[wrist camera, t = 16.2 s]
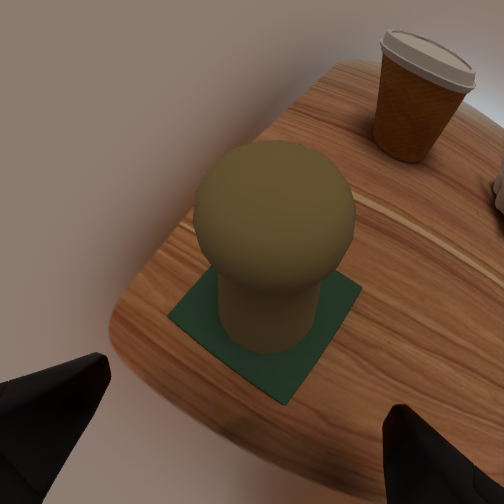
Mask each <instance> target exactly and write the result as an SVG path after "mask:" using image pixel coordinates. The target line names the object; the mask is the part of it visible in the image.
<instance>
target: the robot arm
mask: <svg viewBox="0 0 504 504" xmlns="http://www.w3.org/2000/svg"><path fill="white" fill-rule="evenodd" d="M110 380H111V371H110V366H109V362H108V358H107V356H105V355H103V354H100V353H97V352H95V353H92V354H89V355H86V356H83V357H80V358H77V359H74V360H71V361H68V362H66V363H63V364H60V365H57V366H53V367H50V368H47V369H44V370H41V371H38V372H35V373H32V374H29V375H26V376H22V377H19V378H16V379H13V380H9V382H8V381H6V382H3V383H0V504H42V502H43V499H44V498H45V497H46V495H47V493H48V491H49V489H50V488H51V486H52V484H53V482H54V481H55V479H56V477H57V475H58V474H59V472H60V470H61V468H62V467H63V465H64V463H65V462H66V460H67V458H68V456H69V455H70V453H71V451H72V450H73V448H74V446H75V445H76V443H77V442H78V440H79V438H80V437H81V435H82V433H83V432H84V430H85V428H86V427H87V425H88V424H89V422H90V420H91V419H92V417H93V415H94V414H95V412H96V409H97V408H98V405H99V403H100V401H101V399H102V397H103V395H104V393H105V391H106V389H107V387H108V385H109V383H110ZM382 432H383V468H384V478H385V487H386V497H387V504H504V488H503V487H502V486H500V485H499V484H498V483H496V482H495V481H493V480H492V479H491V478H490V477H488V476H487V475H486V474H485V473H483V472H482V471H481V470H480V469H479V468H478V467H477V466H474V464H473V463H472V462H471V461H470V460H468V459H467V458H466V457H465V456H464V455H463V454H462V453H461V452H459V451H458V450H457V449H456V448H455V447H454V446H453V445H451V444H450V443H449V442H448V441H447V440H446V439H445V438H444V437H442V436H441V435H440V434H439V433H438V432H437V431H436V430H435V429H433V428H432V427H431V426H430V425H429V424H428V423H427V422H426V421H425V420H423V419H422V418H421V417H420V416H419V415H418V414H417V413H416V412H414V411H413V410H412V409H411V408H410V407H409V406H408V405H406V404H396V405H394V406H393V407H392V408H391V410H390V412H389V413H388V415H387V417H386V418H385V420H384V422H383V426H382Z"/></svg>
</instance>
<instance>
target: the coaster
mask: <svg viewBox="0 0 504 504" xmlns="http://www.w3.org/2000/svg"><path fill="white" fill-rule="evenodd" d="M361 290H362V287H361V286H360V285H358V284H357V283H355V282H354V281H352V280H351V279H349V278H347V277H346V276H344V275H343V274H341V273H340V272H338V271H336V270H334V271H333V272H331V273H330V274H329V275H328V276H326V277H325V278H324V279H323V280H322V281H321V287H320V293H319V298H318V304H317V309H316V314H315V318H314V322H313V325H312V327H311V329H310V330H309V332H308V333H307V335H306V337H305V338H304V339H303V340H301V341H300V342H299V343H298V344H296V345H295V346H294V347H293V348H290V349H288V350H285V351H282V352H279V353H272V354H260V353H256V352H253V351H249V350H246V349H244V348H243V347H241V346H240V345H238V344H237V343H235V342H234V341H232V340H231V338H230V337H229V336H228V334H227V333H226V332H225V330H224V329H223V327H222V324H221V321H220V318H219V314H218V272H217V271H216V270H215V269H214V267H213V266H212V265H211V267H210V268H209V269H208V270H207V271H206V272H205V273H204V274H203V276H202V277H201V278H200V279H199V280H198V281H197V282H196V283H195V285H194V286H193V287H192V288H191V289H190V290H189V291H188V292H187V294H186V295H185V296H184V297H183V298H182V299H181V300H180V302H179V303H178V304H177V305H176V306H175V307H174V308H173V310H172V311H171V312H170V313H169V314H168V315H167V316H168V317H169V318H170V319H171V320H172V321H173V322H174V323H175V324H177V325H178V326H179V327H180V328H181V329H182V330H184V331H185V332H186V333H187V334H188V335H190V336H191V337H192V338H193V339H194V340H196V341H197V342H198V343H199V344H201V345H202V346H203V347H204V348H205V349H207V350H208V351H209V352H211V353H212V354H213V355H214V356H216V357H217V358H218V359H219V360H221V361H222V362H223V363H225V364H226V365H227V366H229V367H230V368H231V369H233V370H234V371H235V372H237V373H238V374H239V375H241V376H242V377H243V378H245V379H246V380H248V381H249V382H250V383H252V384H253V385H255V386H256V387H257V388H259V389H260V390H262V391H263V392H265V393H266V394H268V395H269V396H270V397H272V398H273V399H275V400H276V401H278V402H279V403H281V404H282V405H286V404H287V403H288V401H289V400H290V399H291V397H292V396H293V395H294V393H295V392H296V391H297V389H298V388H299V387H300V385H301V384H302V382H303V381H304V380H305V378H306V377H307V375H308V374H309V373H310V371H311V370H312V368H313V367H314V365H315V364H316V362H317V361H318V359H319V358H320V357H321V355H322V354H323V352H324V351H325V349H326V347H327V346H328V344H329V343H330V341H331V340H332V338H333V337H334V335H335V333H336V332H337V330H338V329H339V327H340V325H341V324H342V322H343V321H344V319H345V317H346V316H347V314H348V312H349V311H350V309H351V307H352V306H353V304H354V302H355V300H356V299H357V297H358V295H359V293H360V292H361Z"/></svg>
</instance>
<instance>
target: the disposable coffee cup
mask: <svg viewBox="0 0 504 504" xmlns="http://www.w3.org/2000/svg"><path fill="white" fill-rule="evenodd" d="M380 44H381V50H382V52H383V57H382V66H381V76H380V86H379V93H378V101H377V108H376V116H375V122H374V128H373V138H374V140H375V142H376V143H377V145H378V146H379V147H380V148H381V149H382V150H383V151H385V152H386V153H388V154H389V155H391V156H392V157H394V158H397V159H399V160H401V161H405V162H410V163H416V162H420V161H422V160H423V159H424V157H425V156H426V154H427V153H428V151H429V150H430V148H431V147H432V146H433V144H434V143H435V141H436V140H437V138H438V137H439V136H440V134H441V133H442V131H443V130H444V128H445V127H446V125H447V124H448V122H449V121H450V119H451V118H452V116H453V115H454V113H455V112H456V110H457V108H458V107H459V105H460V104H461V102H462V100H463V99H464V97H465V95H466V94H467V93H469V92H470V91H471V90H473V89H474V88H475V86H476V85H475V82H474V79H475V69H474V68H473V67H472V66H471V65H470V64H469V63H468V62H466V61H465V60H464V59H463V58H462V57H460V56H459V55H457V54H456V53H454V52H452V51H451V50H449V49H448V48H446V47H444V46H442V45H440V44H438V43H436V42H434V41H432V40H430V39H428V38H425V37H423V36H420V35H417V34H415V33H412V32H409V31H405V30H400V29H388V31H387V32H386V34H385V37H383V38H381V39H380Z"/></svg>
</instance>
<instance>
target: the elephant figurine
mask: <svg viewBox="0 0 504 504" xmlns="http://www.w3.org/2000/svg"><path fill="white" fill-rule="evenodd" d="M493 191H494V193H495V194H496V195H497V197H496V199H495V206H496V208H497V209H498V210H500V211H501V212H502V213H503V214H504V153H503V156H502V160H501V170H500V171H499V173H498V175H497V177H496V180H495V182H494V186H493Z"/></svg>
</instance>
